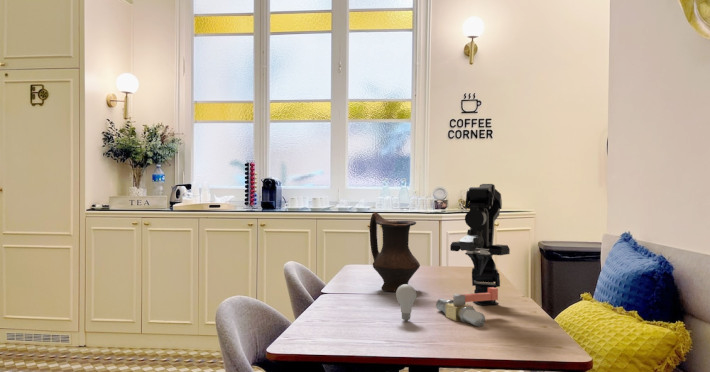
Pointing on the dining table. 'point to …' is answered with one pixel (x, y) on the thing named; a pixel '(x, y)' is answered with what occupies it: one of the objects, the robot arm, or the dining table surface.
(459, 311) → the valve
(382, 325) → the dining table surface
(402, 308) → the lightbulb
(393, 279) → the jug
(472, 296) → the lever
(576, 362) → the dining table surface
